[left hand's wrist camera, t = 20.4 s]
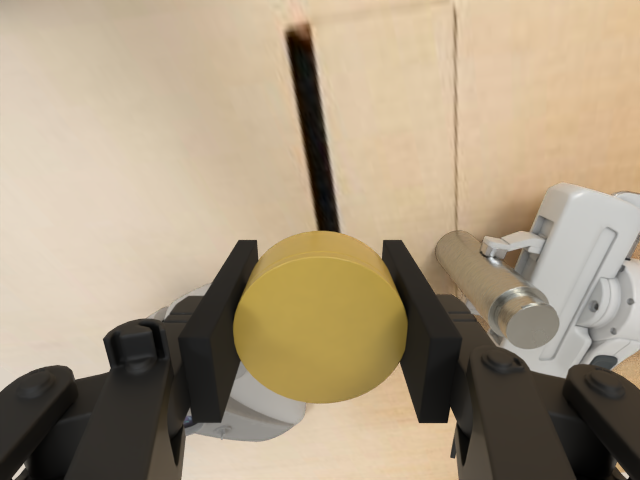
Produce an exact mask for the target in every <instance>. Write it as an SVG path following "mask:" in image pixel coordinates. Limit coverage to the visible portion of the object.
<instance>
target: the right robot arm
mask: <svg viewBox="0 0 640 480" xmlns="http://www.w3.org/2000/svg"><path fill="white" fill-rule="evenodd" d="M639 241H640V193H635V192H630V191H619V192H615V193H613V194H611V195H609V194H606V193H603V192H599V191H596V190H593V189H589V188H586V187H582V186H578V185H574V184H570V183H566V182H560V183H558V184H556V185H553V186H551V187H549V188H548V190H547V191H546V193H545V196H544V198H543V201H542V203H541V205H540V208H539V210H538V213H537V215H536V217H535V220H534V222H533V225H532V227H531V229H530V232H525V231H518V232H515V233H512V234H509V235H507V236H504V237H501V238H494V237H489V236H484V239H483V241H482V244H481V247H480V249H479V251H480V252H482V253H483V254H484V255H486V256H488V257H496V258H499V259H504V258H505V255H506V253H507V252H509V251H512V250H516V249H520V248H522V251H521V253H520V255H519V258H518V260H517V263H516V265H515V267H514V270H515V271H517V272H518V273H519V274H520V275H522V276H523V277H524V278H525V279H527V280H528V281H529V282H530V283H531V284H533V285H534V286H535V287H536V288H538V289H539V290H540V291H541V292H543V293H544V294H545V296H546V297H547V299H548V302H549V305H551V306H552V307H553V308H554V309H555V311H556V312H557V315H558V317H559V321H560V325H559V329H558V332H557V333H556V335H555V336H554V338H553V339H552V340H551V341H549V342H548V343H547V344H545V345H543V346H541V347H538V348H535V349H521V348H518V347H515V346H514V345H512V344H511V343H510V342H509V341H508V339H507V338H505V337H502V336H499V335H498V334H496V333H495V332H494V331H493V330H492V329H491V328H490V327H489V329H488V331H487V334H488V336H489V337H490V338H491V340H492V341H493V342H494V344H495V345H496V346H497V347H501V348H504V349H507V350H509V351H511V352H513V353H515V354H516V355H518V356H519V357H520V358H522V359H523V360H524V361H525V362H526V364H527V365H528V367H529V368H530V370H531V371H535V372H538V373H542V374H547V375H552V376H556V377H561V378H566V376H567V373H568V370H569V368H571V367H572V366H573V365H578V364H589V365H596V366H599V367H602V368H606V369H609V370H612V369H613V368H614V367H615V366H617V365H618V364H619V363H620V362H622V361H623V360H625V359H626V358H628V357H629V356H631V355H632V354H634V353H636V352H637V351H639V350H640V259H635V258H631V257H632V255H633V253H634V251H635V249H636V247H637V246H638V243H639ZM461 301H462V302H464V303H465V305H466V306H467V307H468V309H469V310H470V311H471V314H475V315H480V314H479V313H478V311H477V310H476V309H475V307H474V306H473V305H472V304H471V302H470V301H469V300H468V299H467V297H466V296H465V295H464V294H463V295H462V297H461ZM480 316H481V315H480ZM481 317H482V316H481Z"/></svg>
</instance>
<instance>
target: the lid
mask: <svg viewBox="0 0 640 480" xmlns="http://www.w3.org/2000/svg"><path fill="white" fill-rule="evenodd" d="M407 328H408V319H407V314H406V310H405V308H404V305H403V303H402V301H401V298H400V296H399V293H398V291H397V289H396V286H395V284H394V282H393V279H392V277H391V275H390V272H389V270H388V268H387V267H386V265H385V263H384V262H383V260H382V259H381V258H380V257H379V255H378V254H377V253H376V252H374V251H373V250H372V249H371V248H370V247H368V246H367V245H366V244H364V243H363V242H361V241H359V240H357V239H355V238H353V237H350V236H347V235H345V234H341V233H336V232H329V231H312V232H305V233H300V234H297V235H293V236H291V237H289V238H286V239H284V240H282V241H280V242H279V243H277V244H275V245H274V246H273V247H271V248H270V249H269V250H268V251H267V252H266V253H265V254H264V255H263V256H262V257H261V258H260V259H259V261H258V262H257V263H256V265H255V267H254V269H253V271H252V272H251V275H250V277H249V280H248V282H247V284H246V287H245V289H244V291H243V294H242V296H241V299H240V301H239V303H238V306H237V309H236V312H235V315H234V321H233V335H234V344H235V347H236V351H237V353H238V356H239V358H240V360H241V362H242V363H243V365H244V366H245V368H246V369H247V371H248V372H249V373H250V374H251V375H252V376H253V377H254V378H255V379H256V380H257V381H258V382H259V383H260V384H262V385H263V386H265V387H266V388H267V389H269V390H271V391H273V392H275V393H276V394H279V395H281V396H283V397H286V398H289V399H292V400H296V401H301V402H306V403H317V404H318V403H335V402H341V401H345V400H349V399H352V398H355V397H358V396H360V395H363V394H365V393H367V392H369V391H370V390H372V389H374V388H375V387H377V386H378V385H379V384H381V383H382V382H383V381H384V380H385V379H386V378H387V377H388V376H389V375H390V374H391V373H392V372H393V371H394V369H395V368H396V367H397V365H398V364H399V362H400V360H401V358H402V356H403V354H404V351H405V346H406V338H407Z"/></svg>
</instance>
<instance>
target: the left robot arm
mask: <svg viewBox="0 0 640 480" xmlns="http://www.w3.org/2000/svg"><path fill="white" fill-rule="evenodd" d="M382 260H383V262H384V263H385V265H386V267H387V268H388V270H389V272H390V275H391V277H392V279H393V282H394V284H395V286H396V289H397V291H398V293H399V296H400V298H401V301H402V303H403V305H404V308H405V310H406V314H407V319H408V328H407V338H406V346H405V351H404V354H403V356H402V358H401V360H400V364H401V367H402V371H403V374H404V377H405V380H406V383H407V386H408V390H409V393H410V396H411V399H412V402H413V405H414V409H415V412H416V415H417V418H418V421H419V423H448V417H449V411H450V407H451V409H452V411H453V413H454V416H455V418H456V420H457V423H456V429H455V434H454V439H453V444H452V450H451V456H450V458H454V459H455V455H456V456H457V466H458V476H459V480H640V390H639V389H638V388H637V387H636V386H635V385H634V384H632V383H631V382H630V381H628V380H627V379H625V378H624V377H623V376H621V375H619V374H617V373H615V372H613V371H611V370H609V369H606V368H602V367H599V366H596V365H589V364H578V365H573V366H572V367H571V368H569V370H568V373H567V376H566V378H561V377H556V376H552V375H547V374H542V373H538V372H535V371H531V370H530V368H529V367H528V365H527V364H526V362H525V361H524V360H523V359H522V358H520V357H519V356H518V355H516V354H515V353H513V352H511V351H509V350H507V349H504V348H501V347H497V346H496V345H495V344H494V342H493V341H492V340H491V338H490V337H489V336H488V334H487V333H486V332H485V330H484V329H483V328H482V326H481V325H480V324H479V322H477V320H476V318H475V317H474V315H473V314H471V311H470V310H469V309H468V307H467V306H466V305H465V303H464V302H462V301H461V300H459V299H458V298H456V297H455V296H453V295H435V293H434V291H433V290H432V288H431V287H430V285H429V283H428V282H427V280H426V279H425V277H424V275H423V274H422V272H421V271H420V269H419V267H418V266H417V264H416V263H415V261H414V259H413V258H412V256H411V255H410V253H409V251H408V250H407V248H406V247H405V245H404V243H403V242H402V240H383V252H382ZM257 262H258V249H257V240H239V241H238V242H237V244H236V245H235V247H234V249H233V250H232V252H231V253H230V255H229V257H228V258H227V260H226V261H225V263H224V265H223V266H222V268H221V269H220V271H219V273H218V274H217V276H216V277H215V279H214V281H213V282H212V284H211V285H210V287H209V289H208V290H207V292H206V293H205V295H204V296H187V297H186V298H184V299H183V300H181V301H180V302H178V303H177V304H176V305H175V306H174V308H173V309H172V310H171V312H170V315H168V316H167V317H166V319H165V320H164V323H162V322H161V321H160V320H156V319H152V318H148V319H138V320H133V321H129V322H127V323H124V324H122V325H119V326H117V327H116V328H114V329H113V330H111V331H110V332H108V334H107V335H106V336H105V337H104V338H103V341H104V345H105V349H106V352H107V356H108V360H109V363H110V367H111V369H110V371H109V372H107V373H104V374H100V375H95V376H91V377H86V378H81V379H77V380H75V378H74V375H73V372H72V370H71V369H69V368H68V367H67V366H60V365H55V366H48V367H43V368H39V369H36V370H34V371H31V372H29V373H27V374H25V375H23V376H21V377H19V378H17V379H16V380H15V381H13V382H12V383H11V384H9V385H8V386H7V387H5V388H4V389H3V390H2V391H1V392H0V480H12V477H13V476H14V475H15V473H16V472H17V471H18V470H19V468H20V467H21V466H22V465H23V463H24V465H25V467H26V468H25V469H24V470H23V471H22V473H21V474H20V475H19V476H18V477H17V478H16V479H15V480H181V477H182V467H183V457H184V448H185V438H186V435H185V429H184V423H183V422H184V420H185V418H186V416H187V413H188V411H189V409H190V410H191V416H192V421H193V423H221V422H222V419H223V416H224V412H225V409H226V406H227V403H228V400H229V397H230V393H231V390H232V387H233V384H234V381H235V378H236V374H237V371H238V368H239V365H240V362H241V360H240V358H239V356H238V353H237V351H236V347H235V344H234V335H233V321H234V315H235V312H236V309H237V306H238V303H239V301H240V299H241V296H242V294H243V291H244V289H245V287H246V284H247V282H248V280H249V277H250V275H251V272H252V271H253V269H254V267H255V265H256V263H257ZM617 462H618V463H619V464H620V466H621V467H622V468H623V469H624V470H625V472H626V473H627V474H628V475H629V478H628V479H626V478H625V477H624V476H623V475H622V474H621V473H620V472H619V470H618V469H617V468H616V467H615V465H616V463H617Z"/></svg>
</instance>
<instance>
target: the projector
mask: <svg viewBox="0 0 640 480" xmlns="http://www.w3.org/2000/svg"><path fill="white" fill-rule="evenodd" d="M211 284H212V283H209V284H207V285H204V286H202V287H199V288H197V289H195V290H193V291H191V292H189V293H187V294H185V295H184V296H182V297H180V298H178V299H177V300H175V301H174V302H172V303H171V305H170V306H169V307H164V308H162V309H160V310H158V311H157V312H155V313H153V314H152V315H150V316H149V317H147V318H146V319H148V318H152V319H156V320H160V321H161V322H162V323H164V320H165V319H166V317H167V316H168V315H170V312H171V310H172V309H173V308H174V306H175V305H176V304H177V303H178V302H180V301H181V300H183V299H184V298H186V297H187V296H204V295H205V293H206V292H207V290H208V289H209V287H210V285H211ZM305 410H306V402H301V401H296V400H292V399H289V398H286V397H283V396H281V395H279V394H276V393H275V392H273V391H271V390H269V389H267V388H266V387H265V386H263V385H262V384H260V383H259V382H258V381H257V380H256V379H255V378H254V377H253V376H252V375H251V374H250V373H249V372H248V371H247V369H246V368H245V366H244V365H243V363H242V362H240V365H239V368H238V371H237V374H236V378H235V381H234V384H233V387H232V390H231V393H230V397H229V400H228V403H227V406H226V409H225V412H224V416H223V419H222V422H221V423H193V421H192V416H191V410H190V409H189V411H188V413H187V416H186V418H185V420H184V422H183V423H184V429H185V435H186V436H188V435H191V434H194V433H195V434H200V435H205V436H210V437H216V438H221V440H223V439H229V440H239V441H255V442H258V441H265V440H269V439H272V438H275V437H277V436H279V435H281V434H283V433H285V432H286V431H288V430H289V429H291V428H292V427H293V426H294V425H296V424H298V423H299V422H300V421H301V420H302V419H303V417H304V415H305Z"/></svg>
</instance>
